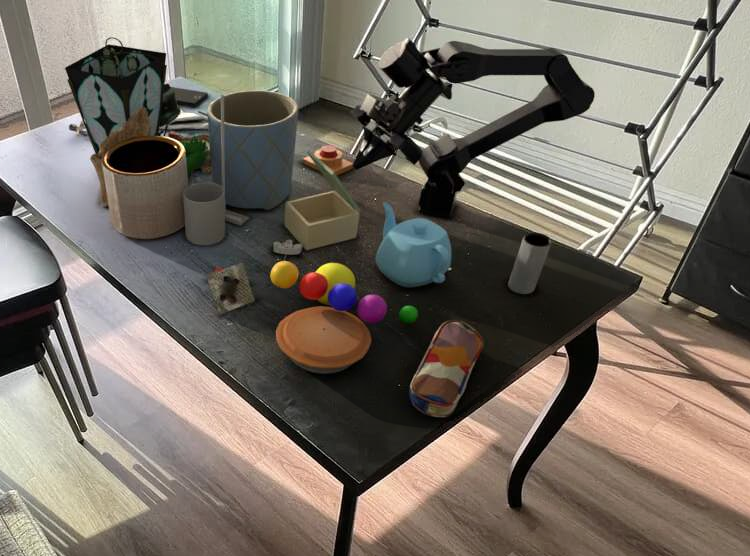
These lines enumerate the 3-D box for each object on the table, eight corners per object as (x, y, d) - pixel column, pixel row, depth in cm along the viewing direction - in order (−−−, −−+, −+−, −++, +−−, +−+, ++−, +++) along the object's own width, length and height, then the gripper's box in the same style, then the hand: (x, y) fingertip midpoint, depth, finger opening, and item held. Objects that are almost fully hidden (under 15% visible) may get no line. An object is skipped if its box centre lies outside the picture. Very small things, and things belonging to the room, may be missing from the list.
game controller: (299, 243, 139) (299, 232, 137) (309, 276, 131) (310, 265, 129) (271, 245, 139) (272, 234, 138) (279, 278, 131) (280, 267, 129)
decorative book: (143, 159, 167) (143, 139, 164) (202, 145, 175) (203, 126, 171) (171, 182, 159) (172, 162, 156) (232, 167, 167) (234, 147, 163)
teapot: (409, 190, 131) (479, 232, 119) (400, 237, 138) (465, 281, 126) (357, 209, 127) (424, 254, 115) (350, 256, 135) (413, 303, 123)
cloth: (127, 114, 192) (126, 106, 191) (165, 100, 198) (165, 92, 197) (184, 143, 177) (183, 134, 175) (224, 126, 182) (223, 118, 181)
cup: (230, 228, 145) (230, 186, 139) (216, 248, 140) (215, 205, 133) (195, 221, 148) (192, 179, 142) (179, 240, 143) (176, 198, 136)
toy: (207, 215, 155) (235, 163, 144) (177, 220, 150) (203, 167, 139) (170, 166, 161) (193, 112, 150) (139, 169, 156) (162, 114, 145)
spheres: (285, 282, 130) (260, 292, 115) (299, 245, 128) (275, 250, 113) (411, 332, 122) (401, 349, 108) (428, 293, 120) (421, 305, 105)
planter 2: (198, 207, 152) (194, 121, 139) (225, 169, 165) (224, 86, 151) (280, 220, 146) (284, 131, 133) (302, 178, 159) (308, 94, 145)
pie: (388, 355, 113) (392, 332, 109) (320, 397, 107) (323, 375, 103) (322, 311, 123) (324, 289, 119) (257, 347, 116) (257, 325, 113)
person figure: (121, 141, 180) (120, 129, 178) (66, 142, 181) (64, 130, 179) (126, 125, 189) (125, 113, 187) (73, 125, 190) (71, 114, 188)
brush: (211, 83, 134) (252, 93, 129) (214, 206, 152) (249, 218, 148) (200, 90, 132) (241, 99, 127) (204, 214, 150) (239, 226, 146)
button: (339, 155, 161) (340, 148, 160) (328, 160, 159) (329, 153, 158) (328, 150, 163) (329, 143, 162) (317, 155, 162) (318, 148, 161)
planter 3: (536, 295, 122) (554, 247, 115) (509, 293, 123) (525, 245, 116) (532, 280, 125) (549, 232, 118) (506, 278, 126) (521, 231, 119)
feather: (143, 127, 157) (150, 124, 156) (189, 128, 182) (195, 125, 181) (146, 134, 157) (153, 131, 157) (191, 134, 182) (197, 131, 181)
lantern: (173, 155, 172) (164, 30, 152) (136, 184, 162) (121, 54, 142) (121, 143, 179) (105, 22, 159) (82, 170, 169) (60, 44, 149)
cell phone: (194, 106, 194) (194, 103, 193) (140, 97, 200) (140, 94, 200) (208, 95, 199) (208, 92, 199) (155, 87, 206) (155, 84, 205)
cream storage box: (306, 250, 137) (308, 226, 133) (284, 225, 145) (285, 201, 141) (356, 237, 140) (359, 213, 136) (332, 213, 147) (334, 190, 143)
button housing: (353, 168, 161) (354, 156, 159) (331, 177, 159) (332, 165, 157) (323, 154, 168) (324, 142, 165) (302, 163, 165) (303, 151, 163)
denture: (176, 146, 178) (150, 152, 174) (175, 129, 176) (149, 136, 172) (188, 150, 174) (162, 157, 170) (187, 134, 172) (161, 140, 168)
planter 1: (202, 204, 152) (198, 138, 142) (173, 247, 141) (166, 180, 130) (131, 194, 158) (122, 131, 147) (98, 236, 147) (85, 170, 136)
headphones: (187, 144, 171) (134, 148, 185) (199, 93, 171) (145, 101, 185) (151, 122, 161) (98, 129, 175) (163, 68, 161) (109, 78, 175)
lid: (331, 174, 127) (334, 172, 127) (306, 152, 135) (309, 150, 135) (358, 213, 135) (361, 211, 135) (333, 189, 143) (336, 187, 143)
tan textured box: (206, 275, 122) (193, 278, 127) (219, 314, 123) (206, 316, 128) (242, 262, 125) (228, 265, 130) (255, 300, 126) (240, 302, 131)
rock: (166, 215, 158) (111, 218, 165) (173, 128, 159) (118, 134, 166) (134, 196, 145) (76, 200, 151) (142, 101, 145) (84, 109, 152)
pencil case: (419, 307, 112) (410, 328, 115) (411, 395, 99) (402, 416, 103) (488, 322, 110) (477, 343, 114) (489, 414, 97) (476, 434, 101)
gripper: (365, 62, 131) (309, 127, 136) (419, 96, 118) (355, 167, 123) (394, 95, 138) (340, 156, 143) (449, 130, 124) (387, 196, 130)
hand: (354, 167), depth 135 cm, fingers closed
